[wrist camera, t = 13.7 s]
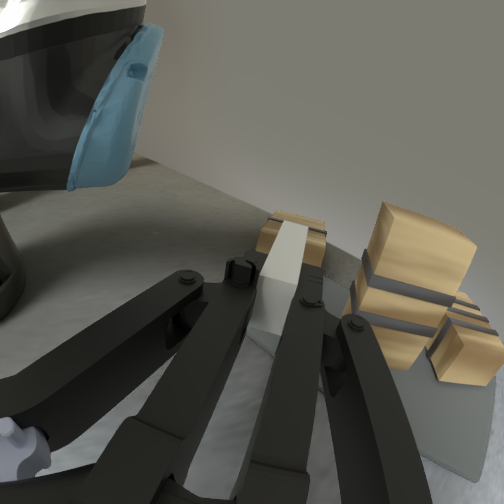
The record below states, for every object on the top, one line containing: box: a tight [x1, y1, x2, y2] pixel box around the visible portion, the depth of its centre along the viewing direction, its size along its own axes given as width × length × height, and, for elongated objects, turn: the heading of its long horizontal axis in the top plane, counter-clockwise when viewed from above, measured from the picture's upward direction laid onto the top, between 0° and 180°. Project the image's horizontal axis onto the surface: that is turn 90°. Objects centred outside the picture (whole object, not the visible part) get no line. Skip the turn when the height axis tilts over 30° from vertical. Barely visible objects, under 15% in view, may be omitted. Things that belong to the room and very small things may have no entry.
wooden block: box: [340, 202, 477, 370], centre depth 19 cm, size 4×7×12 cm, turn 75°
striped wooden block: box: [425, 291, 504, 386], centre depth 22 cm, size 4×7×12 cm
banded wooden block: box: [256, 210, 327, 267], centre depth 35 cm, size 4×7×12 cm
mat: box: [246, 275, 496, 483], centre depth 22 cm, size 30×14×1 cm, turn 45°
